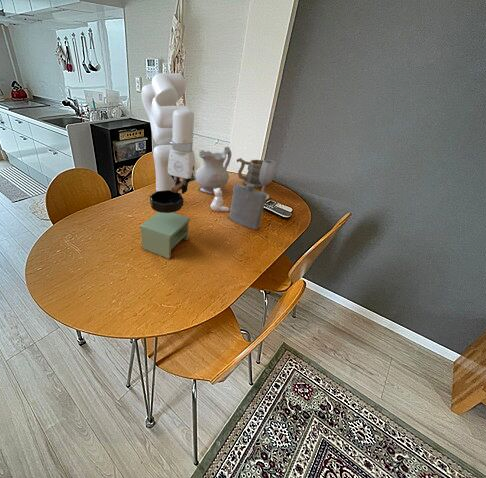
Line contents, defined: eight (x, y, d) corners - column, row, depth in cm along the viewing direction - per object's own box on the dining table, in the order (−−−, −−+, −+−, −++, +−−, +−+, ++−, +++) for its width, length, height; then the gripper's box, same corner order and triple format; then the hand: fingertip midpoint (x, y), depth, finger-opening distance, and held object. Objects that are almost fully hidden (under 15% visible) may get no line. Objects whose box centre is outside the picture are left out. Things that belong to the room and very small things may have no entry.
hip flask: (259, 227, 122) (269, 188, 110) (255, 231, 119) (264, 191, 108) (231, 216, 131) (237, 178, 119) (227, 218, 128) (232, 180, 117)
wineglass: (271, 196, 150) (279, 160, 138) (266, 202, 144) (275, 165, 132) (256, 193, 154) (263, 158, 142) (251, 198, 148) (258, 162, 136)
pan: (144, 207, 97) (144, 196, 94) (173, 188, 113) (173, 177, 110) (171, 216, 92) (172, 204, 90) (198, 194, 108) (198, 183, 105)
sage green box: (141, 248, 107) (139, 225, 101) (162, 230, 118) (161, 209, 112) (170, 259, 101) (170, 236, 95) (189, 239, 113) (190, 217, 106)
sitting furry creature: (229, 211, 134) (232, 190, 127) (215, 214, 131) (217, 193, 125) (220, 204, 141) (223, 183, 134) (206, 206, 139) (208, 185, 132)
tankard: (265, 181, 169) (271, 159, 160) (262, 188, 159) (268, 165, 151) (235, 176, 175) (239, 154, 167) (231, 183, 166) (234, 160, 157)
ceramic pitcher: (212, 182, 169) (213, 142, 156) (236, 189, 157) (240, 147, 144) (189, 191, 157) (188, 149, 144) (213, 199, 145) (215, 154, 132)
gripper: (159, 145, 97) (159, 190, 107) (197, 152, 90) (194, 199, 101) (169, 141, 102) (169, 184, 113) (206, 147, 96) (202, 192, 106)
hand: (181, 191), depth 107 cm, fingers closed on pan
